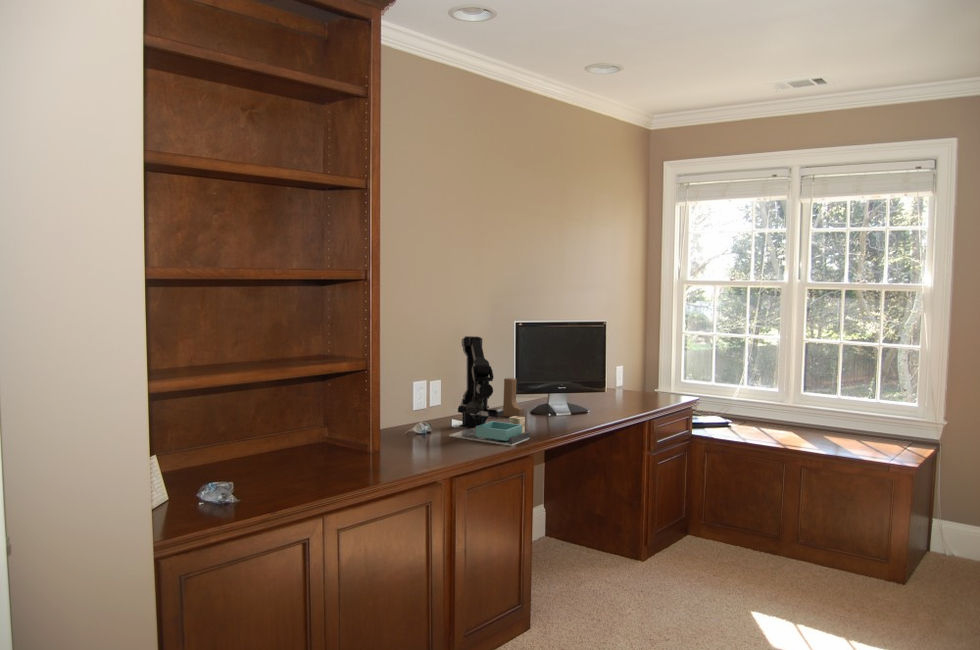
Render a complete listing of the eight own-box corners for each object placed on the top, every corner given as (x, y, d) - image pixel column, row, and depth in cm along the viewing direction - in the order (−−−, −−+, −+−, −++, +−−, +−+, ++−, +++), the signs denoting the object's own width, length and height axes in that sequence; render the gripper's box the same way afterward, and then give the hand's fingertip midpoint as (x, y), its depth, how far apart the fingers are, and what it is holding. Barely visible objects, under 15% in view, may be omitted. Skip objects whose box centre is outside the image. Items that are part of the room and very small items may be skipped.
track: (448, 436, 312) (449, 429, 312) (468, 430, 326) (468, 423, 326) (511, 445, 298) (511, 438, 298) (529, 438, 312) (529, 431, 312)
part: (508, 434, 320) (509, 417, 320) (514, 432, 325) (514, 415, 324) (519, 435, 318) (519, 419, 318) (524, 433, 322) (525, 417, 322)
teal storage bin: (475, 437, 307) (475, 426, 307) (492, 431, 319) (492, 421, 319) (506, 442, 300) (506, 430, 300) (522, 436, 312) (522, 425, 312)
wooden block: (523, 417, 360) (525, 379, 359) (518, 418, 356) (520, 380, 355) (507, 415, 365) (509, 377, 364) (502, 416, 361) (503, 378, 360)
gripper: (451, 393, 310) (450, 431, 311) (491, 398, 301) (490, 437, 302) (465, 390, 320) (464, 427, 321) (504, 395, 311) (503, 433, 312)
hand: (479, 431), depth 314 cm, fingers closed
